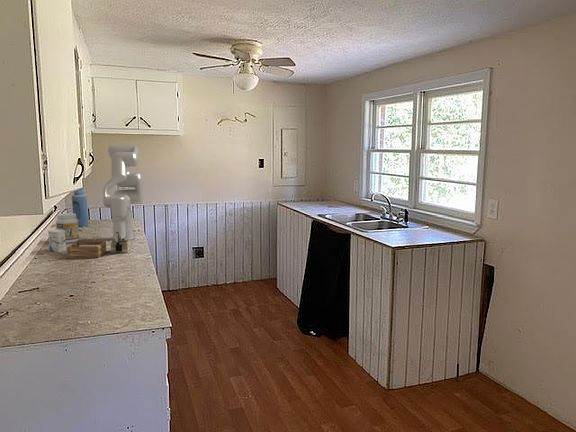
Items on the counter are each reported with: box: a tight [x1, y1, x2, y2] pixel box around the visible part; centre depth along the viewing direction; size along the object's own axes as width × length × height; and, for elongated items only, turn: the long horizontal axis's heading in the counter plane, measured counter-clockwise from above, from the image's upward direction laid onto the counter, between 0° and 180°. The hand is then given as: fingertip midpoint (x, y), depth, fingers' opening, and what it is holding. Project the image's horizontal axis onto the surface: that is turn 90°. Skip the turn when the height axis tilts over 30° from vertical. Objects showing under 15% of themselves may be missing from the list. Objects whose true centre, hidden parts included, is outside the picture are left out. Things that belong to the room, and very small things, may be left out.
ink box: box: [47, 228, 67, 253], centre depth 250 cm, size 9×5×12 cm, turn 62°
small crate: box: [110, 239, 131, 254], centre depth 249 cm, size 6×9×6 cm, turn 97°
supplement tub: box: [55, 212, 80, 244], centre depth 274 cm, size 12×12×17 cm
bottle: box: [71, 186, 89, 228], centre depth 325 cm, size 10×10×30 cm
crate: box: [66, 240, 107, 260], centre depth 241 cm, size 14×16×6 cm
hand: (120, 249), depth 249 cm, fingers open, 7 cm apart
